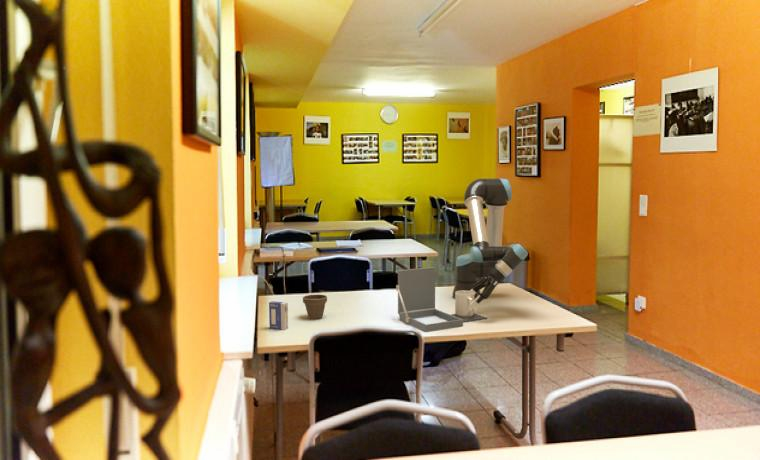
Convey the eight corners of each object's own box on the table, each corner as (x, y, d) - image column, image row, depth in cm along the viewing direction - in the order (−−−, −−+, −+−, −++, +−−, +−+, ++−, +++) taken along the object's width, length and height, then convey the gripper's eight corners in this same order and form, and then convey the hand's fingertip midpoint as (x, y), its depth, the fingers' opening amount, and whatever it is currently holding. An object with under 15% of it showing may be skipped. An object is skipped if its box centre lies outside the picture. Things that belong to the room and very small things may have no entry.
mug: (452, 313, 282) (452, 291, 280) (469, 312, 284) (469, 289, 283) (461, 320, 270) (462, 296, 269) (479, 318, 272) (480, 295, 271)
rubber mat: (444, 316, 279) (444, 315, 279) (470, 312, 286) (470, 311, 286) (460, 323, 267) (460, 321, 267) (487, 318, 274) (487, 317, 274)
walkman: (269, 328, 259) (268, 301, 258) (272, 327, 262) (272, 300, 261) (285, 330, 257) (284, 303, 255) (288, 328, 259) (287, 301, 258)
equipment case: (396, 319, 274) (396, 270, 271) (433, 314, 283) (433, 267, 281) (423, 332, 253) (423, 279, 250) (462, 326, 262) (463, 275, 260)
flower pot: (298, 317, 279) (298, 296, 278) (319, 313, 286) (318, 292, 285) (311, 322, 270) (310, 300, 269) (331, 318, 277) (331, 297, 276)
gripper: (487, 261, 288) (456, 292, 288) (502, 270, 263) (468, 304, 263) (497, 272, 289) (467, 303, 289) (513, 282, 264) (480, 315, 264)
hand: (467, 303), depth 276 cm, fingers open, 13 cm apart
